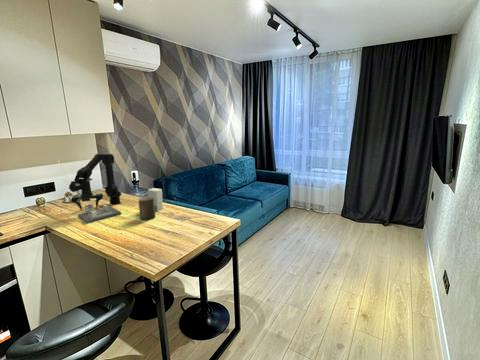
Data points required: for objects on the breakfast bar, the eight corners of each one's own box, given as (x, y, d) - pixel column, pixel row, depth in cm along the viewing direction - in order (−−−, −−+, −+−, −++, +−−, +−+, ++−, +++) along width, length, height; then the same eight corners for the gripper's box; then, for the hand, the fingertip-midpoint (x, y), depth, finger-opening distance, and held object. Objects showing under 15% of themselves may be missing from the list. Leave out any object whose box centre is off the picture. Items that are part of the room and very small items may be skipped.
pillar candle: (155, 219, 173) (153, 197, 170) (139, 221, 170) (137, 199, 167) (155, 214, 182) (153, 193, 179) (140, 216, 179) (138, 195, 176)
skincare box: (148, 210, 190) (146, 189, 186) (154, 207, 196) (152, 187, 192) (158, 211, 187) (156, 191, 183) (163, 208, 193) (162, 188, 189)
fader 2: (106, 209, 187) (106, 204, 186) (108, 210, 185) (107, 205, 184) (103, 210, 185) (102, 205, 184) (105, 211, 183) (104, 206, 182)
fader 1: (95, 215, 175) (94, 210, 174) (97, 216, 173) (96, 211, 172) (91, 216, 173) (90, 211, 172) (93, 217, 171) (92, 212, 170)
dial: (89, 210, 185) (88, 203, 183) (93, 210, 185) (92, 203, 184) (85, 213, 179) (84, 206, 178) (89, 213, 179) (88, 206, 178)
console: (110, 208, 195) (110, 206, 194) (121, 214, 183) (120, 211, 182) (77, 217, 179) (77, 214, 179) (86, 223, 167) (86, 220, 167)
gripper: (67, 192, 167) (71, 215, 171) (99, 189, 174) (103, 211, 178) (70, 188, 177) (74, 210, 181) (101, 185, 184) (104, 206, 188)
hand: (89, 209), depth 181 cm, fingers open, 9 cm apart
